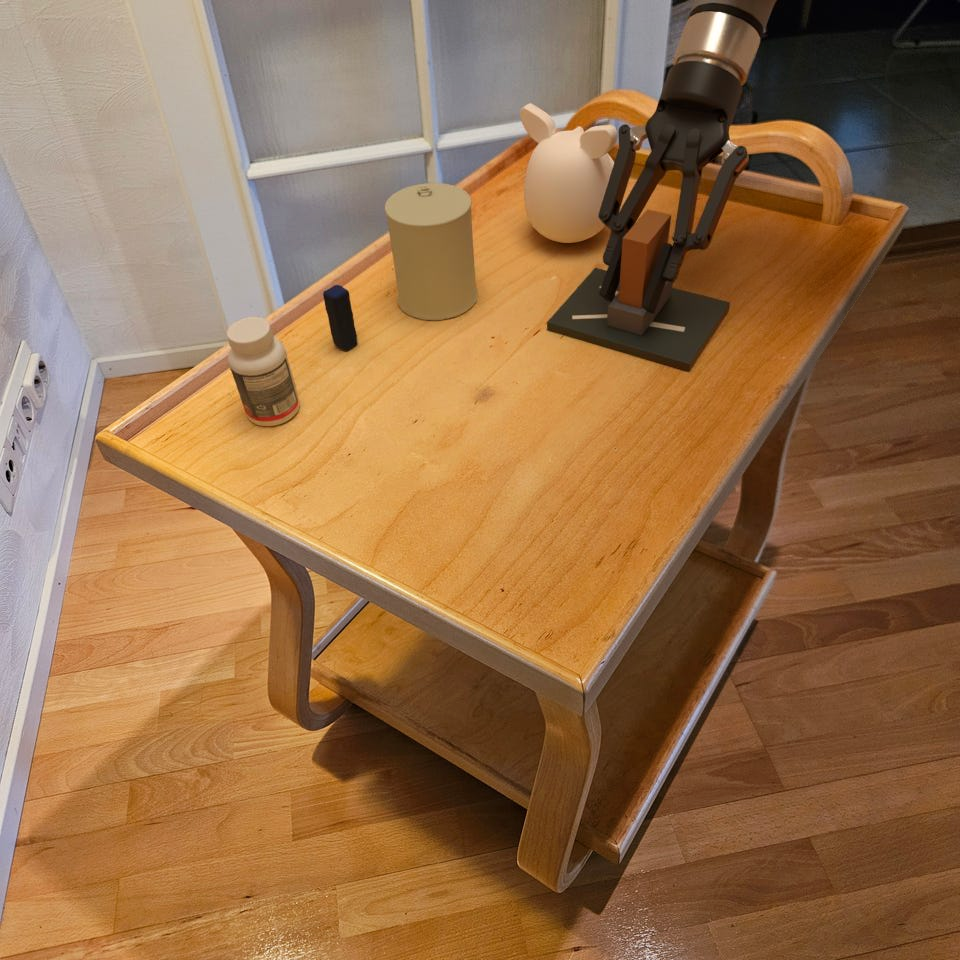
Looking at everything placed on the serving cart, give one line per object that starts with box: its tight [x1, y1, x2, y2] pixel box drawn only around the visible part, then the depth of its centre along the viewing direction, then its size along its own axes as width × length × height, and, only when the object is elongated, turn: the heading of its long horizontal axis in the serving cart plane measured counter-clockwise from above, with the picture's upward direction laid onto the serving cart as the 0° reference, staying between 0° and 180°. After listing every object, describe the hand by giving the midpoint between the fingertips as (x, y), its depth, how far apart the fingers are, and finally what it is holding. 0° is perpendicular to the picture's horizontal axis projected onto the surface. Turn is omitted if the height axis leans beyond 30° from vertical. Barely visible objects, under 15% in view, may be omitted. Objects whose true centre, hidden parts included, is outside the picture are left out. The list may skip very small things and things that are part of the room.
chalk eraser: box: [607, 208, 674, 335], centre depth 85 cm, size 4×8×10 cm, turn 149°
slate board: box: [546, 267, 731, 372], centre depth 89 cm, size 16×12×1 cm
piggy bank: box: [519, 102, 618, 244], centre depth 97 cm, size 12×12×15 cm
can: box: [384, 182, 479, 321], centre depth 90 cm, size 9×9×12 cm
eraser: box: [322, 284, 358, 352], centre depth 87 cm, size 2×2×7 cm
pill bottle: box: [226, 316, 301, 427], centre depth 79 cm, size 5×5×10 cm
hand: (626, 303), depth 84 cm, fingers closed on chalk eraser, 4 cm apart
